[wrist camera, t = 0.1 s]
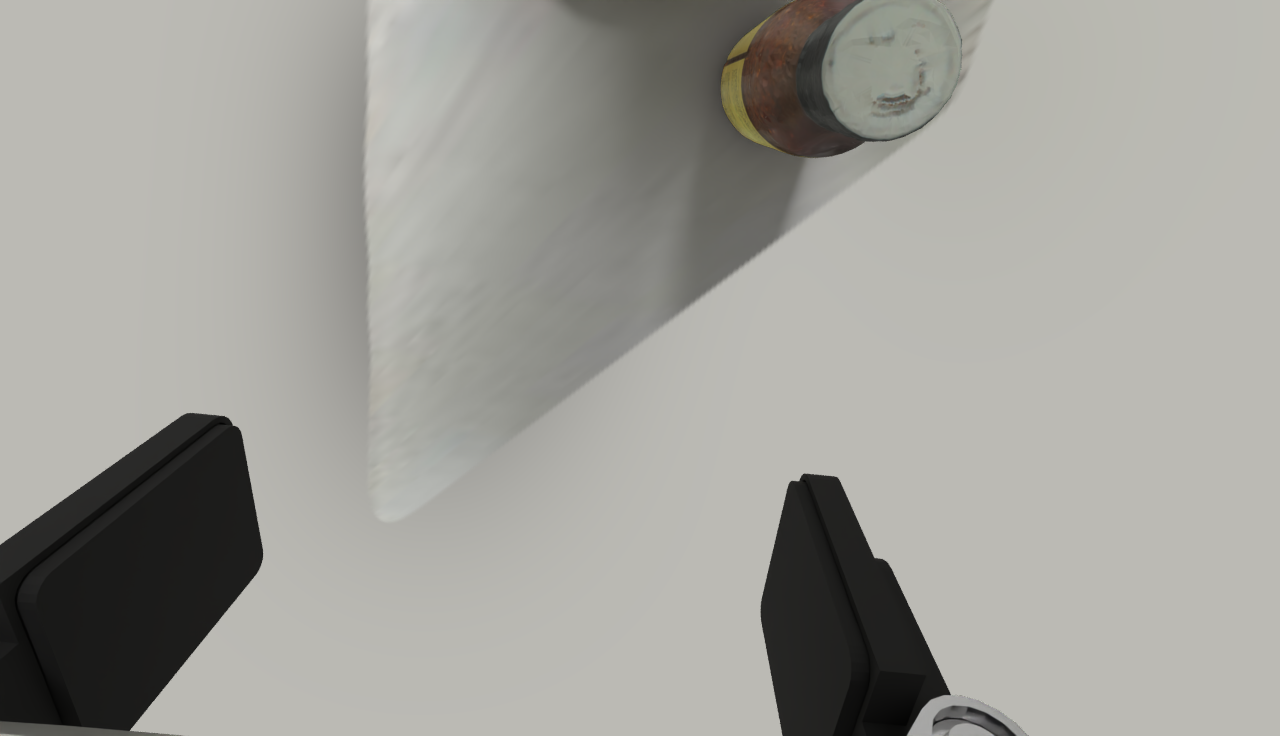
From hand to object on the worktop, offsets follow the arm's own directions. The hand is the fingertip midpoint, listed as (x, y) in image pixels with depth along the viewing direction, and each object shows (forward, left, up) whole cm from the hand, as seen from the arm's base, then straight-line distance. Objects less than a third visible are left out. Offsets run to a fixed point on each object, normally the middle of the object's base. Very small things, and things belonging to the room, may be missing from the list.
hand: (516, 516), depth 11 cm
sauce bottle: (-8, +8, -31) cm, 33 cm away
